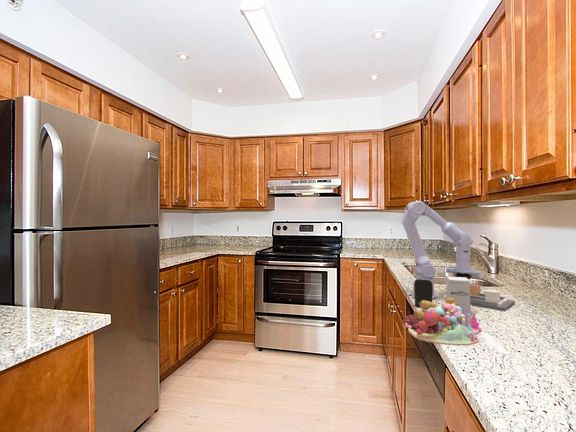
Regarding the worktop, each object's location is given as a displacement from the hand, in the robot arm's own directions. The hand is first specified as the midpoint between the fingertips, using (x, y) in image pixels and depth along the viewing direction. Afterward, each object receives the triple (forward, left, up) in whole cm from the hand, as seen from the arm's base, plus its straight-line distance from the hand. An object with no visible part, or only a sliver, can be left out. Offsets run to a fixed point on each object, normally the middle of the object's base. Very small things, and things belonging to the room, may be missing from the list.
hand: (463, 290), depth 140 cm
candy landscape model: (-48, -10, -4) cm, 49 cm away
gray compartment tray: (-3, -9, -3) cm, 10 cm away
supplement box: (-22, -6, -3) cm, 23 cm away
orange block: (0, -4, -2) cm, 5 cm away
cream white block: (-7, -13, -2) cm, 15 cm away
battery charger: (-27, +6, -3) cm, 28 cm away
